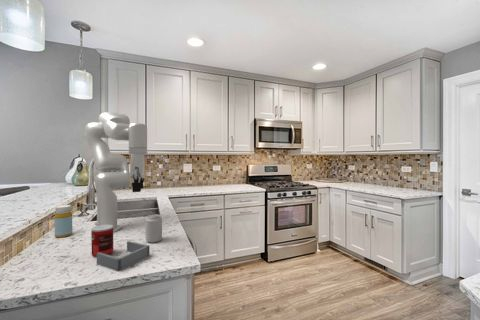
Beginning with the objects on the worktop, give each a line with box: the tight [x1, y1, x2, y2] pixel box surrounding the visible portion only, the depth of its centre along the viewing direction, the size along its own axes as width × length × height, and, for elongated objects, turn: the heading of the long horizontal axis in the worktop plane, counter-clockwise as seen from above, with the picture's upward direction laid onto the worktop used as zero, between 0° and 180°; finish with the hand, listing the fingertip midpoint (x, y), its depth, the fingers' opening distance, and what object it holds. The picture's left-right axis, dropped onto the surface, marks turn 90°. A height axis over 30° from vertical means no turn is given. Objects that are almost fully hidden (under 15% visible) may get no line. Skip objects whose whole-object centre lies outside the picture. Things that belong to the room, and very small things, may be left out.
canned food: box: [90, 225, 114, 258], centre depth 95 cm, size 8×8×11 cm
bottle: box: [54, 204, 73, 239], centre depth 116 cm, size 7×7×15 cm
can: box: [144, 213, 163, 244], centre depth 110 cm, size 8×8×12 cm
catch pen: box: [96, 240, 151, 272], centre depth 90 cm, size 12×14×4 cm
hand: (138, 190), depth 102 cm, fingers open, 9 cm apart
